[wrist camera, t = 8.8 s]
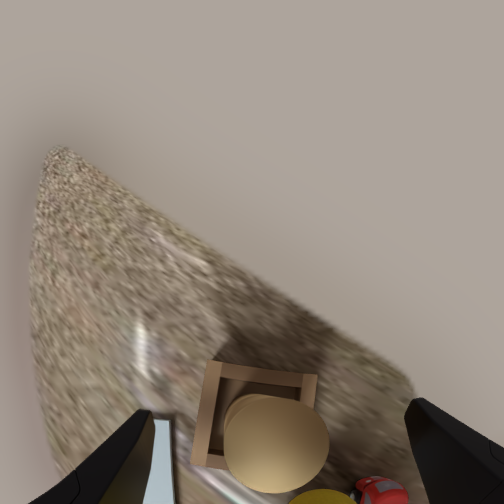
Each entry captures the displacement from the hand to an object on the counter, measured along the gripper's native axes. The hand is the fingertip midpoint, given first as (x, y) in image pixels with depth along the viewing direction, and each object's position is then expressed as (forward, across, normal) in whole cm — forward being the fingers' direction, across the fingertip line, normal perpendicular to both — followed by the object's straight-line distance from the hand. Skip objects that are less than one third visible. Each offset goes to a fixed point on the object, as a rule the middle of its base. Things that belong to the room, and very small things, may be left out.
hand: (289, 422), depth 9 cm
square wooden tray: (+9, +1, +10) cm, 14 cm away
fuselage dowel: (+8, +1, +10) cm, 13 cm away
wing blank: (+5, +8, +14) cm, 17 cm away
